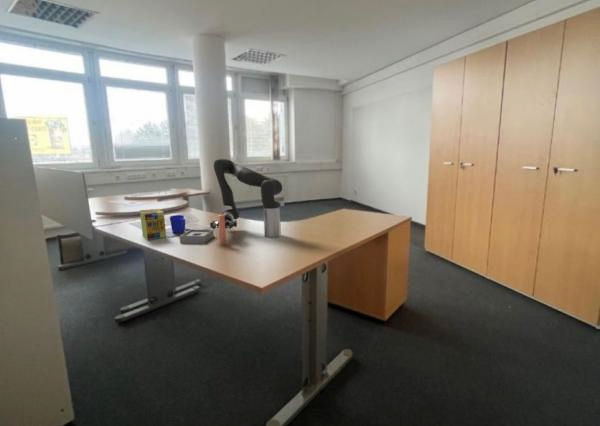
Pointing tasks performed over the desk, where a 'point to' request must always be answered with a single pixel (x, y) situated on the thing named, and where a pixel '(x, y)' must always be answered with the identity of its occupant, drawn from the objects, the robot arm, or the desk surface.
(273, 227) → the robot arm
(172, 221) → the mug
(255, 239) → the desk surface
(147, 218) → the protein box
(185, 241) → the grey square hole base
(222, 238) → the peg
